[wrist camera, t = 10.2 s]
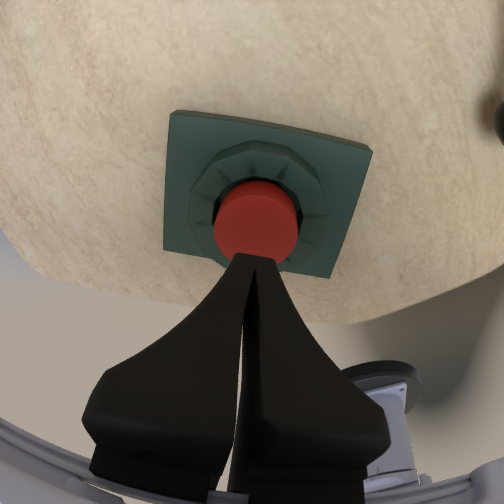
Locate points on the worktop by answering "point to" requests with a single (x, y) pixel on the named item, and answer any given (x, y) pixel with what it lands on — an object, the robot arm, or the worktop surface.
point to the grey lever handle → (500, 122)
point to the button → (256, 221)
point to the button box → (260, 169)
